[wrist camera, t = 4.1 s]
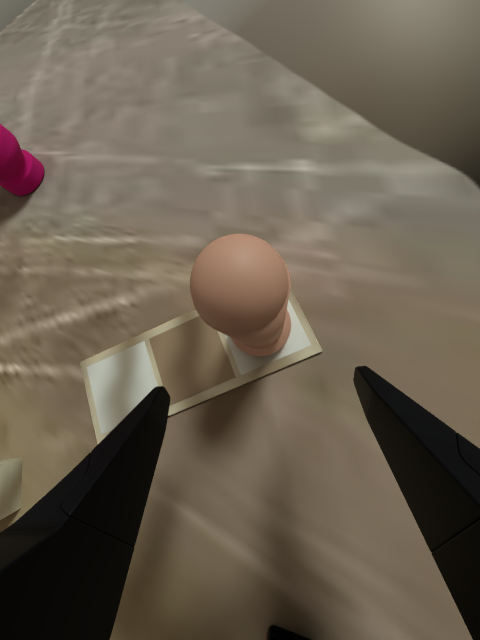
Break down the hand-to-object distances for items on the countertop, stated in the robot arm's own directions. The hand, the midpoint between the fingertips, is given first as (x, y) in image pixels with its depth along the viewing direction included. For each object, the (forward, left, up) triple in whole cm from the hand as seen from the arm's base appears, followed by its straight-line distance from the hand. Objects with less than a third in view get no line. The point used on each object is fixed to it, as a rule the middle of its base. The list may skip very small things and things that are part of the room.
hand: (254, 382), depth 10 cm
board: (0, +8, -11) cm, 14 cm away
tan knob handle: (+4, +1, -11) cm, 12 cm away
